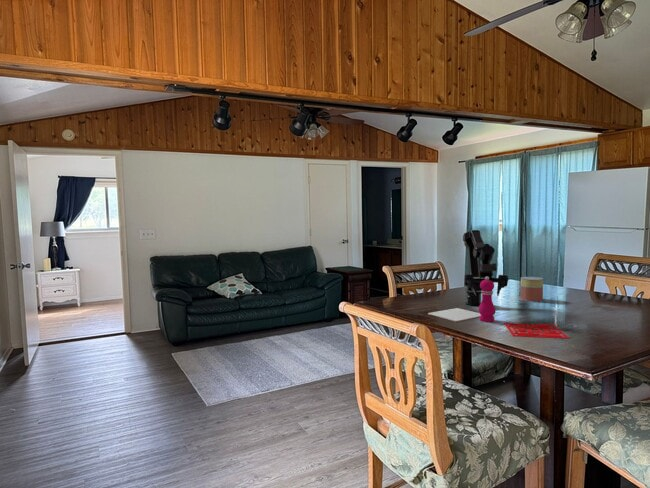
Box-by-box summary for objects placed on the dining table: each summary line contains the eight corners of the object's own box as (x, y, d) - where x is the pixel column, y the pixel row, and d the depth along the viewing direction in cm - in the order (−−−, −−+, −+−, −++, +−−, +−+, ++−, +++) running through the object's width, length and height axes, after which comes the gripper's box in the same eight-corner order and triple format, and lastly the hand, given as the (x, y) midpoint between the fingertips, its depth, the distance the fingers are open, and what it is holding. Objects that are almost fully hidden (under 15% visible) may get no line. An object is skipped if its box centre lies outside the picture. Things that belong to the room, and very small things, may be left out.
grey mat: (457, 308, 219) (457, 308, 219) (486, 315, 203) (486, 314, 203) (427, 314, 209) (427, 313, 209) (456, 321, 193) (456, 320, 193)
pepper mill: (495, 318, 197) (495, 275, 195) (495, 322, 190) (496, 277, 189) (478, 318, 199) (478, 275, 198) (478, 321, 192) (478, 277, 191)
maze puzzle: (554, 326, 184) (554, 324, 184) (569, 339, 165) (569, 338, 165) (504, 324, 189) (504, 323, 188) (513, 337, 169) (513, 335, 169)
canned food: (544, 298, 239) (544, 277, 239) (541, 302, 230) (542, 280, 229) (521, 297, 245) (522, 276, 245) (518, 300, 236) (519, 278, 235)
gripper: (464, 257, 200) (466, 284, 190) (507, 257, 196) (511, 285, 186) (463, 271, 209) (465, 298, 199) (505, 272, 204) (508, 299, 194)
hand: (487, 295), depth 194 cm, fingers open, 9 cm apart
